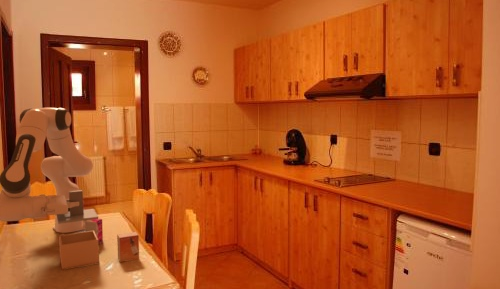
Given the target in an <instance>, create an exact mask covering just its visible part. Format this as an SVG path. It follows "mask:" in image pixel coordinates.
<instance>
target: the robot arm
mask: <svg viewBox="0 0 500 289" xmlns="http://www.w3.org/2000/svg"><path fill="white" fill-rule="evenodd" d="M71 114H72V113H71V112H70V111H69V110H68V109H66V108H63V107H58V108H57V107H38V108H37V107H36V108H27V109H24V110H22V111H21V113H20V115H19V125H18V129H17V132H16V137H15V147H14V151H13V153H12V156H11V160H10V162H9V163H8V164H7V166H6V167H5V168H4V169H3V170H2V172H1V173H0V185H1V187H2V189H1V192H0V222H18V221H22V220H25V219H43V218H47V215H48V216H54V225H53V226H52V230H54V231H55V232H56V233H63V234H66V233H67V234H68V233H76V232H79V231H85V221H87V220H83V221H76V222H68V223H61V224H58V220H57V215H58V214H66V213H68V212H70V208H72V207H75V206H79V201H74V202H69V191H77V190H81V189H80V186H78V184H76V183H74V182H73V181H71V179H70V178H75V177H77V178H78V177H79V178H80V177H85V176H89V175H90V174H91V173H92V171H93V168H94V163H93V161H92V159H91V158H90V157H89V156H87V155H85V154H83V153H82V152H81V151H79V149H78V147H76V144H75V143H74V140H73V138H72V134H71V130H70V126H71V124H72V115H71ZM46 140H47V143H48V144H47V145H48V147H49V150H50V151H51V152H52V153H53V154H55V155H53V156H48V157H44V158H43V160H42V161H41V163H40V172H41V173H42V174H43V175H44V177H47V178H48V179H49V180H50V181H51V183H52V184H53V185H54V189H55V193H56V194H54V195H53V194H51V195H46V194H39V195H33V196H30V194H31V193H32V192H31V191H32V188H31V174H30V170H29V165H30V162H31V158H32V155H33V153H35V152H38V151H40V150H42V148H43V146H44V144H45V141H46ZM69 177H70V178H69ZM84 204H85V200H84V199H83V205H84ZM83 209H84V210H86V209H85V208H83Z"/></svg>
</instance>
